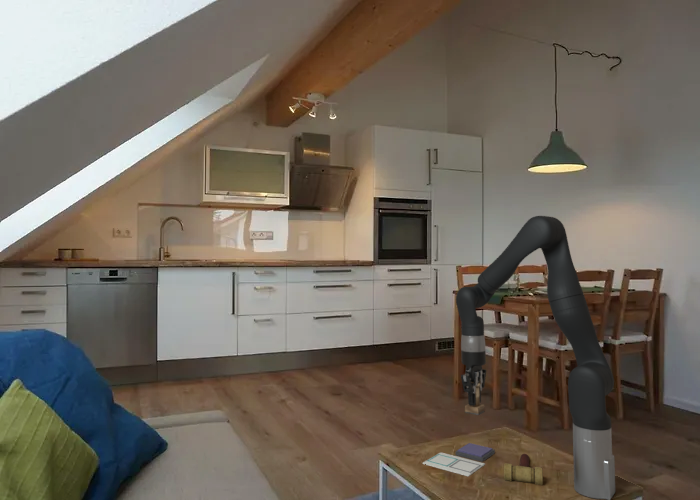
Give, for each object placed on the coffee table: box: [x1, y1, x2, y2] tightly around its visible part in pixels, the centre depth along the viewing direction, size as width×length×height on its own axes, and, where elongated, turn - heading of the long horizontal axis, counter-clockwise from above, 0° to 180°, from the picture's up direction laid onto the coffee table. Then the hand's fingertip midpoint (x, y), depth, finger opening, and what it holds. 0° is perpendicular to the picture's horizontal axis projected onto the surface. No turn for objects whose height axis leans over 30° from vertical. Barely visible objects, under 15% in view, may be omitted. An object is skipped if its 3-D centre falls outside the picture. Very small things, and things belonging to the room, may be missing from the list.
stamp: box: [464, 382, 486, 416], centre depth 160 cm, size 4×4×9 cm
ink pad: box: [455, 442, 496, 463], centre depth 159 cm, size 9×9×2 cm
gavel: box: [503, 453, 544, 486], centre depth 147 cm, size 21×5×10 cm
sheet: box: [422, 451, 486, 477], centre depth 151 cm, size 15×11×1 cm
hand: (474, 403), depth 160 cm, fingers closed on stamp, 3 cm apart
